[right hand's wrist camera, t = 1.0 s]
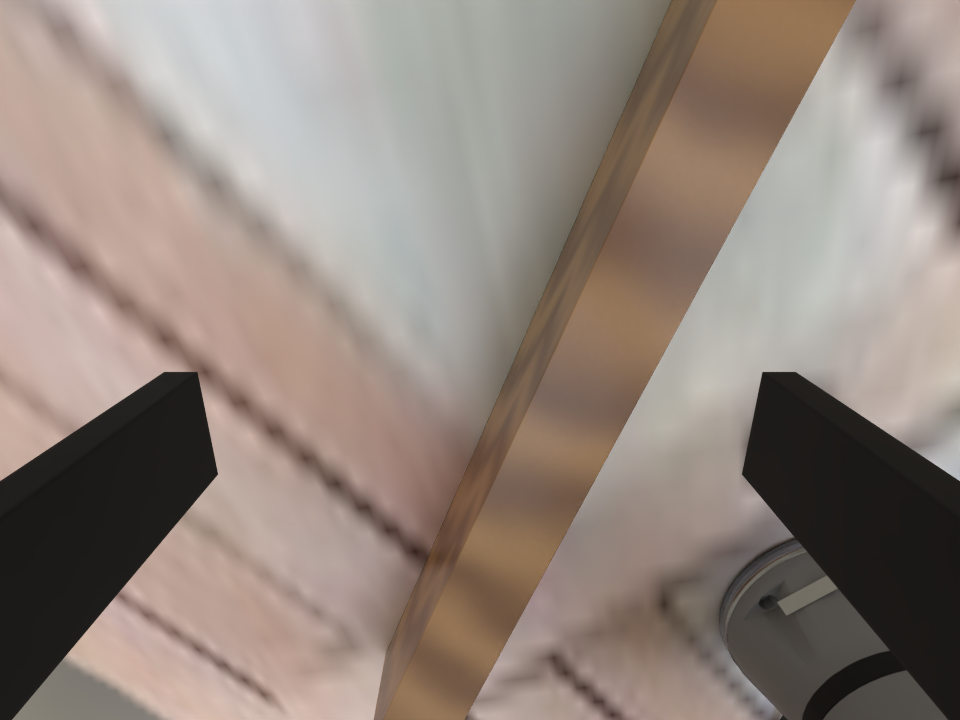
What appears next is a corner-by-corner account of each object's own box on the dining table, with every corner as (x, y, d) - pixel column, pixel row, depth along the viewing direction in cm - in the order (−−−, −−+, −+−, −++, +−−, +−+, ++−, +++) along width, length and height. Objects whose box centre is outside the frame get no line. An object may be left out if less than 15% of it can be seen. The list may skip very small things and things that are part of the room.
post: (444, 669, 45) (437, 769, 38) (385, 653, 45) (367, 752, 37) (1155, -755, 19) (1573, -1316, 12) (1042, -847, 19) (1412, -1503, 11)
